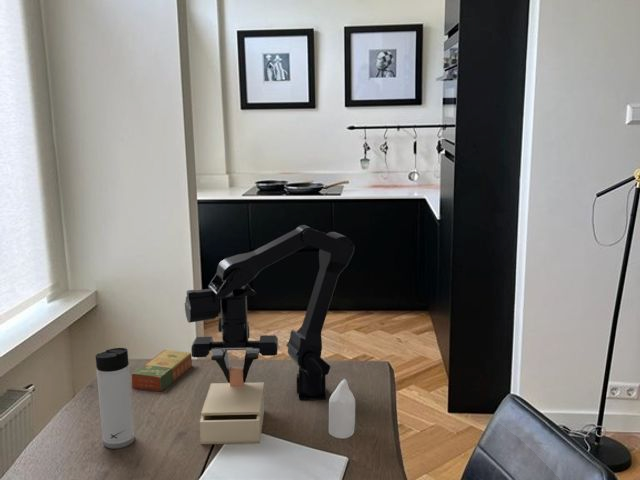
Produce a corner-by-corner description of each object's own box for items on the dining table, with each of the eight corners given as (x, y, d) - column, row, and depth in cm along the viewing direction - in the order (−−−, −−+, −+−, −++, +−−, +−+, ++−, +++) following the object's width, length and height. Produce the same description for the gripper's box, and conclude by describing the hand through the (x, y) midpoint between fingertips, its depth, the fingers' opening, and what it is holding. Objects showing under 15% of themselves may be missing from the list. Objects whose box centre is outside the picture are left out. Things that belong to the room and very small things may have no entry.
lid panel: (264, 384, 143) (263, 365, 142) (259, 414, 129) (259, 393, 128) (211, 385, 143) (210, 366, 142) (201, 415, 129) (200, 394, 128)
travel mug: (118, 452, 125) (110, 358, 121) (96, 443, 129) (88, 352, 125) (142, 438, 131) (135, 348, 126) (120, 430, 134) (113, 342, 130)
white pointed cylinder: (326, 373, 133) (352, 371, 133) (327, 425, 135) (353, 423, 136) (330, 385, 127) (357, 384, 128) (330, 439, 129) (357, 438, 130)
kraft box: (264, 410, 142) (263, 390, 141) (259, 443, 128) (259, 420, 127) (210, 411, 142) (209, 391, 141) (200, 444, 128) (199, 422, 127)
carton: (192, 367, 168) (192, 351, 167) (161, 393, 153) (160, 376, 152) (164, 363, 170) (164, 348, 169) (131, 389, 155) (130, 372, 154)
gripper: (278, 303, 147) (279, 366, 150) (197, 305, 146) (200, 368, 149) (276, 319, 136) (278, 386, 139) (189, 321, 135) (193, 388, 138)
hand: (237, 381), depth 142 cm, fingers closed on lid panel, 3 cm apart
